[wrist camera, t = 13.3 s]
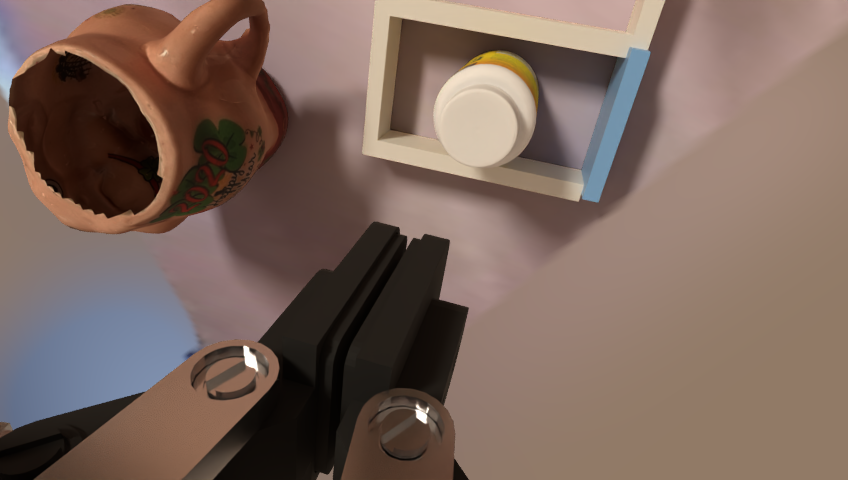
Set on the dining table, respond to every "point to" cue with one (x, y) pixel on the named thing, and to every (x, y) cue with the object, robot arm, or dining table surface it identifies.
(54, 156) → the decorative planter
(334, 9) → the dining table surface
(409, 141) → the white divided tray
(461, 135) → the supplement bottle
